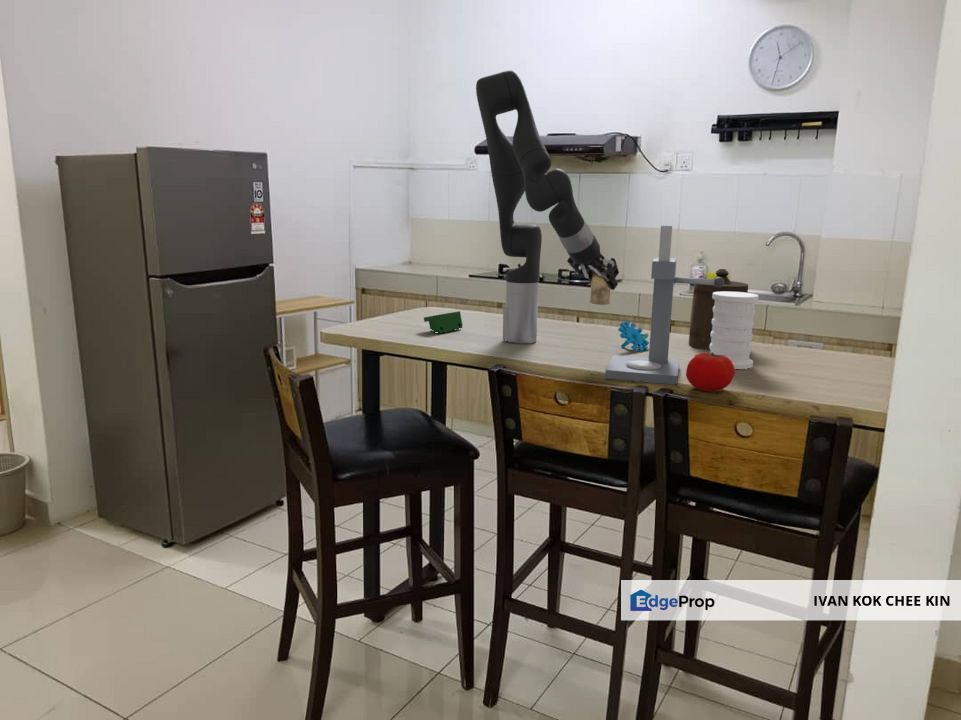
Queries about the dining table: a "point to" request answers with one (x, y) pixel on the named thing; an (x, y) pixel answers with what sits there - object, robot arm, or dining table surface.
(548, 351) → the dining table surface
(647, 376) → the press
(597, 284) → the disc
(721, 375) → the tomato
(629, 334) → the gear
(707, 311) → the wooden container
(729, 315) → the decorative container
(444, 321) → the dark green angular piece
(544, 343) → the dining table surface
